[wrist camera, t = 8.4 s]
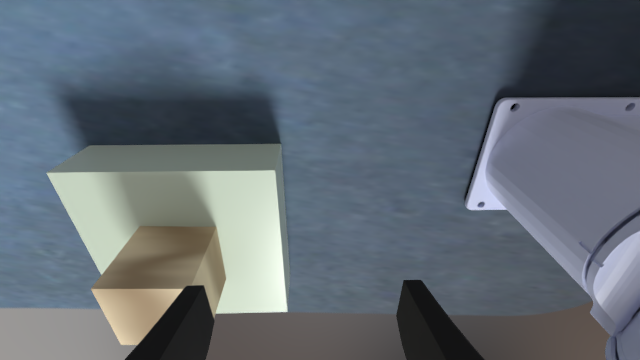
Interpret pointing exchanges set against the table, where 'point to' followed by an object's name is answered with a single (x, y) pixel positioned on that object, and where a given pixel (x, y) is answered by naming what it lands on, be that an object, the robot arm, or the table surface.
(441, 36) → the table surface
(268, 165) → the green box
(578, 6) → the table surface
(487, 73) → the table surface
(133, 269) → the birch block
